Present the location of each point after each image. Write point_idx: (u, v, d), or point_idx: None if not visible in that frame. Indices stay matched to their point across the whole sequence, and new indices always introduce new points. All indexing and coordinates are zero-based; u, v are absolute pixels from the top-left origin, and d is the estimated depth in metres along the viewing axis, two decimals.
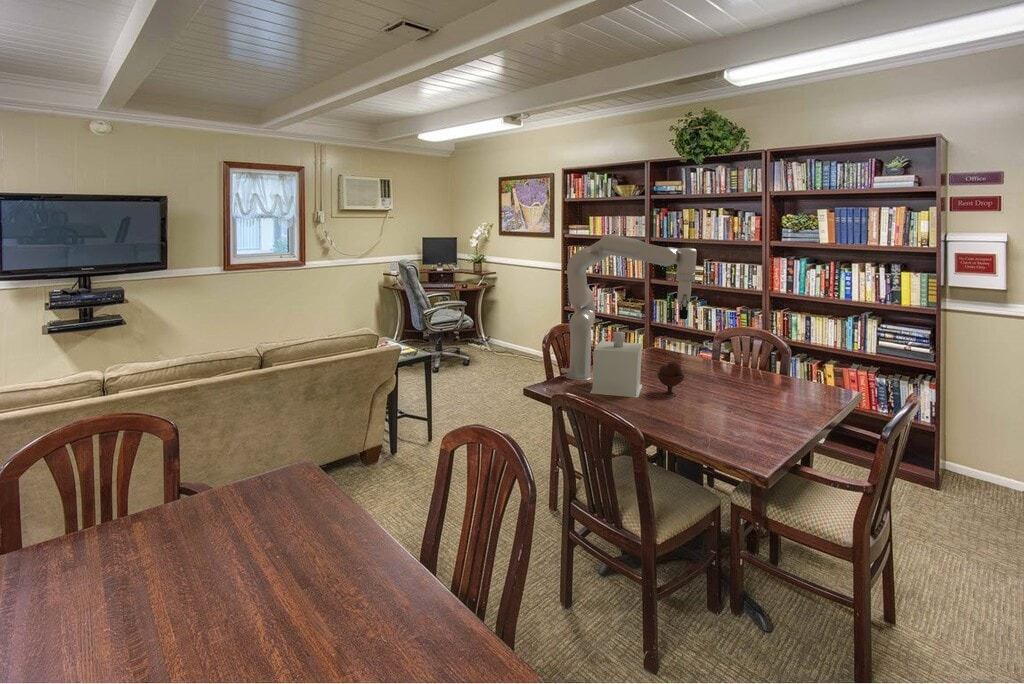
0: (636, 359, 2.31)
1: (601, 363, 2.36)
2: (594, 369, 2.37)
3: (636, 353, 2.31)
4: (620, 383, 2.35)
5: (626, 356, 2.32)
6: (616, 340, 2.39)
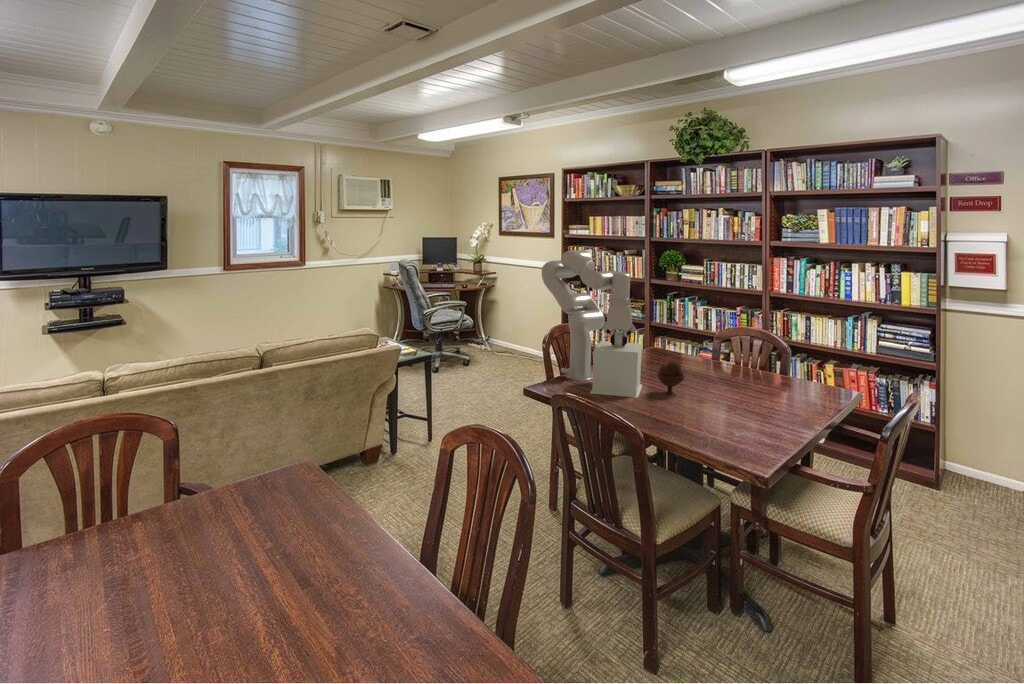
0: (636, 359, 2.31)
1: (601, 363, 2.36)
2: (594, 369, 2.37)
3: (636, 353, 2.31)
4: (620, 383, 2.35)
5: (626, 356, 2.32)
6: (616, 340, 2.39)
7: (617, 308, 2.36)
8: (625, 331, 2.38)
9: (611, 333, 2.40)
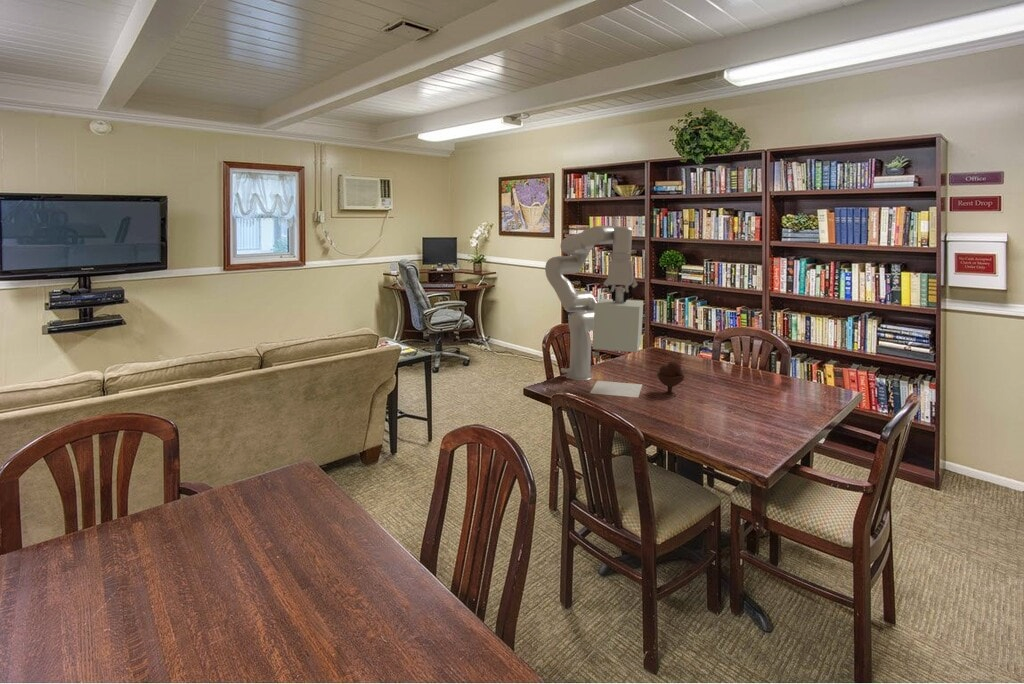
0: (637, 314, 2.28)
1: (601, 318, 2.32)
2: (595, 325, 2.34)
3: (637, 307, 2.27)
4: (621, 339, 2.32)
5: (627, 311, 2.29)
6: (617, 296, 2.36)
7: (618, 262, 2.32)
8: (626, 286, 2.34)
9: (612, 289, 2.36)
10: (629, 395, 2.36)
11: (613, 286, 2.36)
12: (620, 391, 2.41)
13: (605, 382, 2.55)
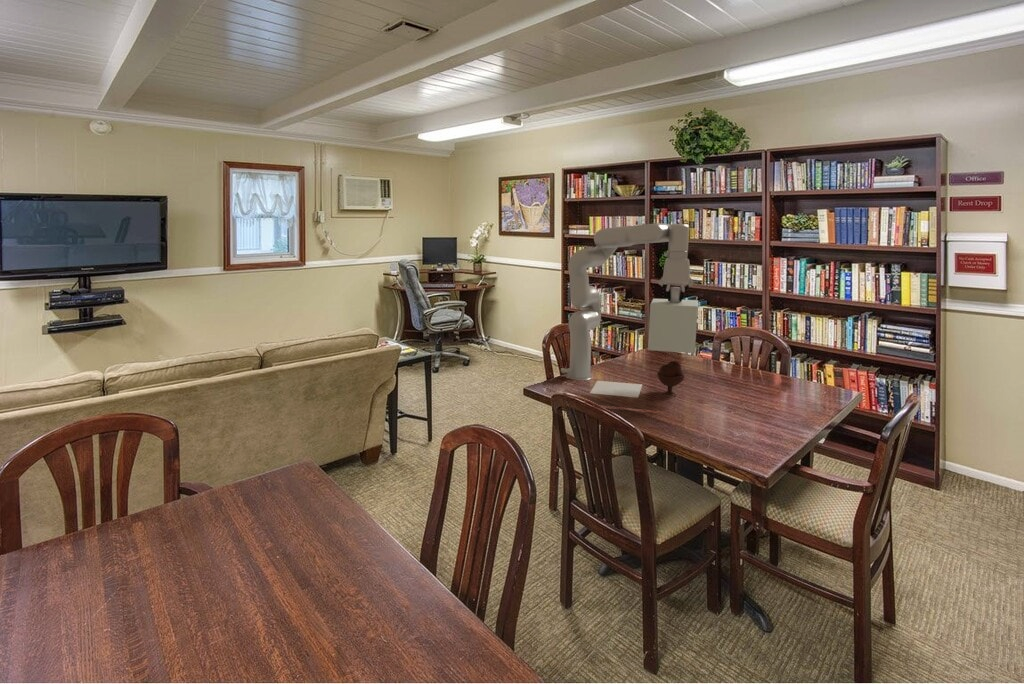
0: (696, 313, 2.21)
1: (658, 318, 2.25)
2: (650, 325, 2.27)
3: (696, 307, 2.20)
4: (678, 339, 2.25)
5: (685, 310, 2.22)
6: (673, 295, 2.29)
7: (675, 261, 2.25)
8: (683, 285, 2.27)
9: (667, 288, 2.29)
10: (629, 395, 2.36)
11: (668, 285, 2.29)
12: (620, 391, 2.41)
13: (605, 382, 2.55)
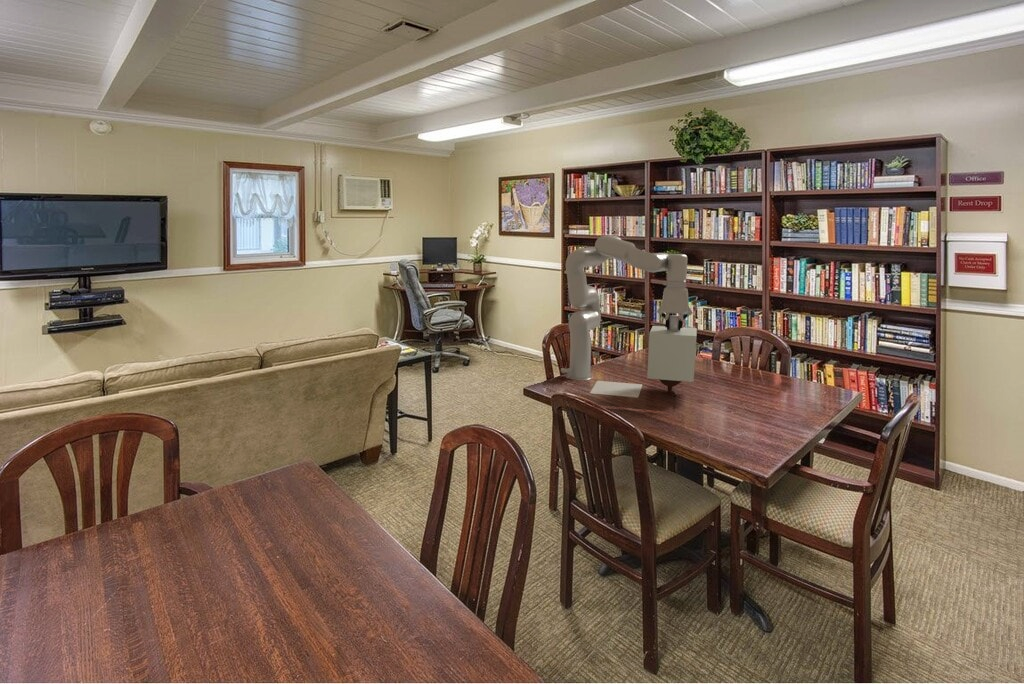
0: (694, 343, 2.23)
1: (657, 347, 2.28)
2: (649, 354, 2.29)
3: (695, 337, 2.22)
4: (677, 368, 2.27)
5: (684, 340, 2.24)
6: (671, 324, 2.31)
7: (673, 291, 2.28)
8: (681, 314, 2.30)
9: (666, 317, 2.32)
10: (629, 395, 2.36)
11: (667, 314, 2.31)
12: (620, 391, 2.41)
13: (605, 382, 2.55)
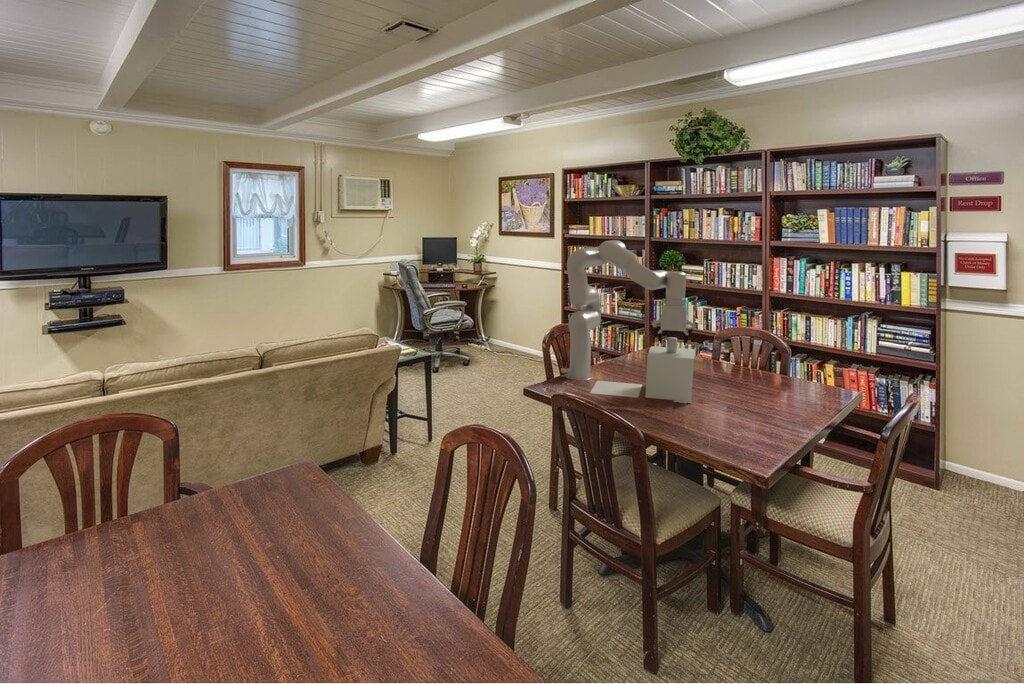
0: (692, 365, 2.25)
1: (655, 369, 2.30)
2: (647, 376, 2.31)
3: (692, 359, 2.24)
4: (675, 390, 2.29)
5: (681, 362, 2.26)
6: (669, 346, 2.33)
7: (672, 308, 2.29)
8: (684, 330, 2.31)
9: (659, 331, 2.34)
10: (629, 395, 2.36)
11: (662, 329, 2.33)
12: (620, 391, 2.41)
13: (605, 382, 2.55)
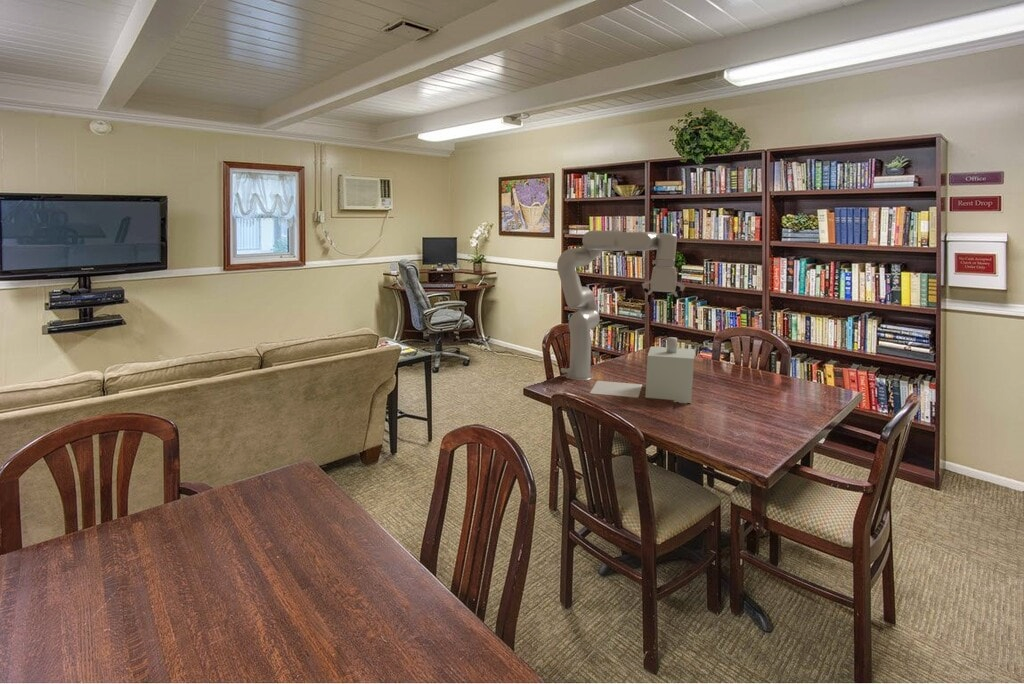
0: (692, 365, 2.25)
1: (655, 369, 2.30)
2: (647, 376, 2.31)
3: (692, 359, 2.24)
4: (675, 390, 2.29)
5: (681, 362, 2.26)
6: (669, 346, 2.33)
7: (662, 269, 2.32)
8: (673, 291, 2.33)
9: (649, 292, 2.37)
10: (629, 395, 2.36)
11: (651, 290, 2.36)
12: (620, 391, 2.41)
13: (605, 382, 2.55)
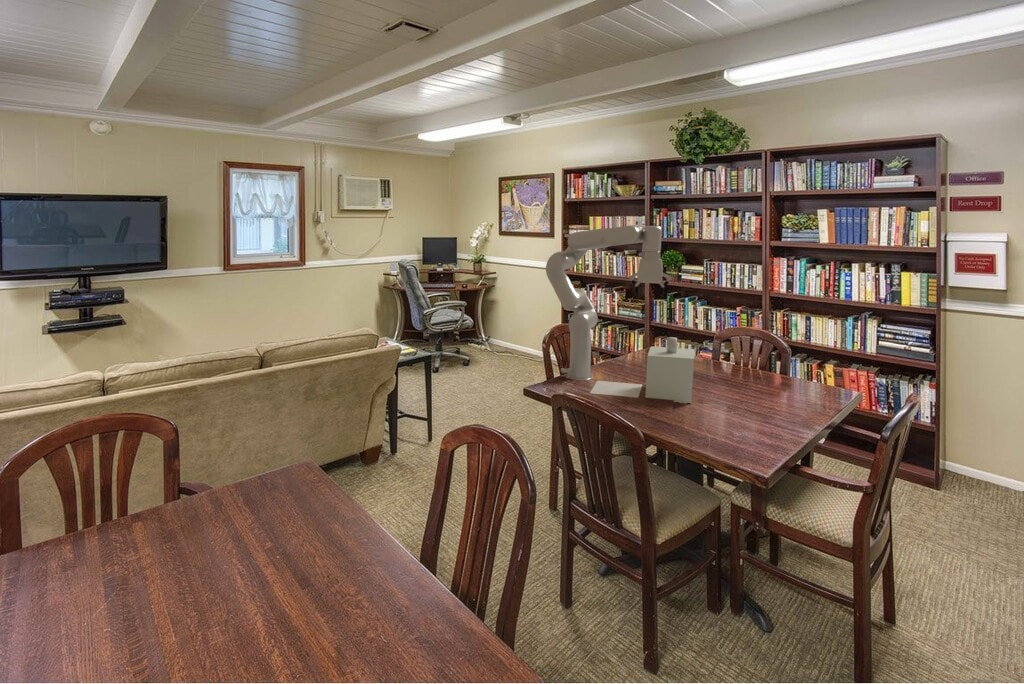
0: (692, 365, 2.25)
1: (655, 369, 2.30)
2: (647, 376, 2.31)
3: (692, 359, 2.24)
4: (675, 390, 2.29)
5: (681, 362, 2.26)
6: (669, 346, 2.33)
7: (648, 261, 2.38)
8: (660, 282, 2.39)
9: (636, 283, 2.43)
10: (629, 395, 2.36)
11: (639, 282, 2.42)
12: (620, 391, 2.41)
13: (605, 382, 2.55)
